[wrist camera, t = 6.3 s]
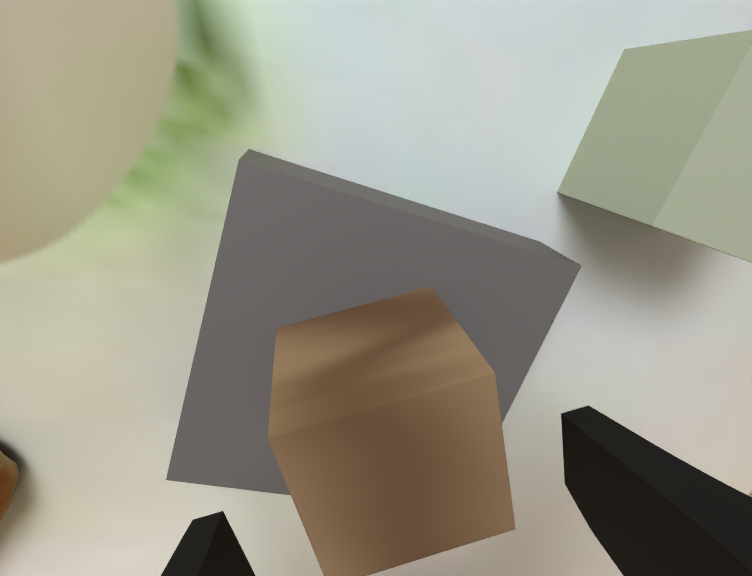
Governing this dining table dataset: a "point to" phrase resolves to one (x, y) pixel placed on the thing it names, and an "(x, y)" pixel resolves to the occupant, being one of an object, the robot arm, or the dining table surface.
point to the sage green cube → (675, 142)
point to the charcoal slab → (342, 299)
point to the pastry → (7, 481)
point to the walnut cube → (388, 434)
